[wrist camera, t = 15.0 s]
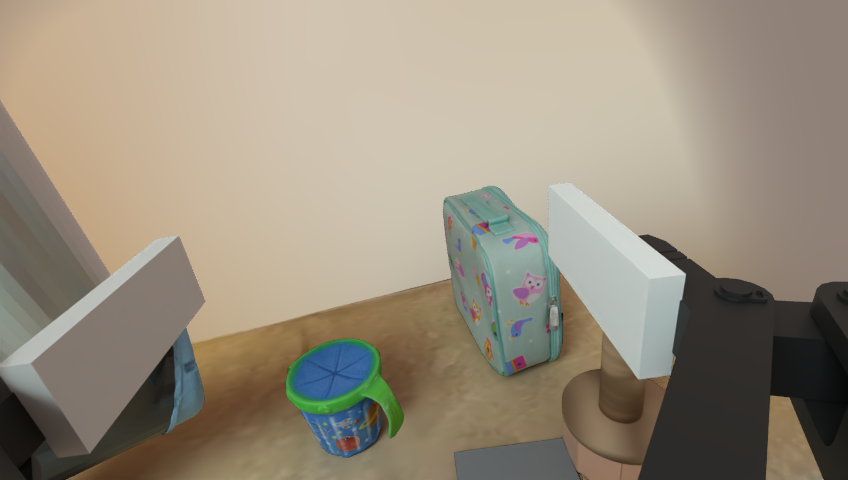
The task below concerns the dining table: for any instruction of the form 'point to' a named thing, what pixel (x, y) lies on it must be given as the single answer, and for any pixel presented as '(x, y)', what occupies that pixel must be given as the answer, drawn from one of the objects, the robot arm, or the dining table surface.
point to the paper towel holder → (612, 409)
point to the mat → (517, 462)
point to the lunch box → (503, 279)
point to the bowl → (596, 462)
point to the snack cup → (343, 395)
